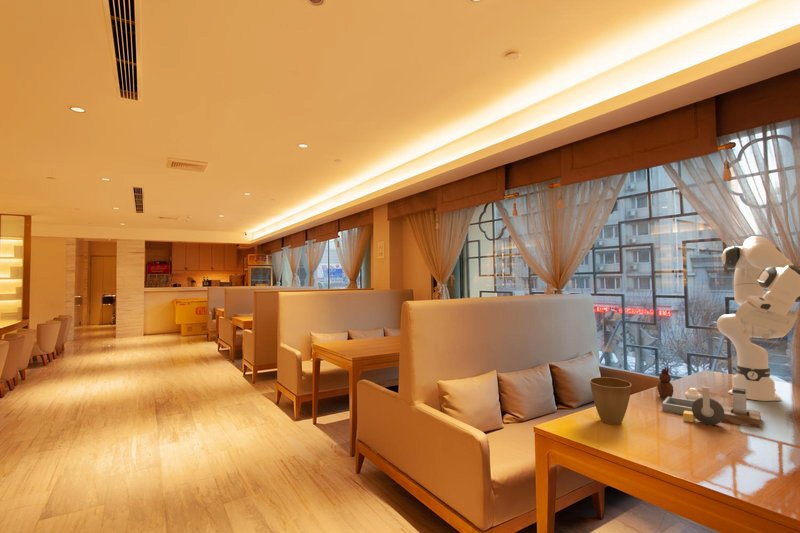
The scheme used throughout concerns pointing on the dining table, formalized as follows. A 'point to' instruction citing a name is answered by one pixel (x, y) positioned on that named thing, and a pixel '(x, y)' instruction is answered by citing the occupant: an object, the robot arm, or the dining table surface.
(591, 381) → the plant pot
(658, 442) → the dining table surface
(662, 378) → the wooden figurine
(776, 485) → the dining table surface
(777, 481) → the dining table surface
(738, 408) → the pin
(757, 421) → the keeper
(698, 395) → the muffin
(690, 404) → the tray
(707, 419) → the grey disc with lever
